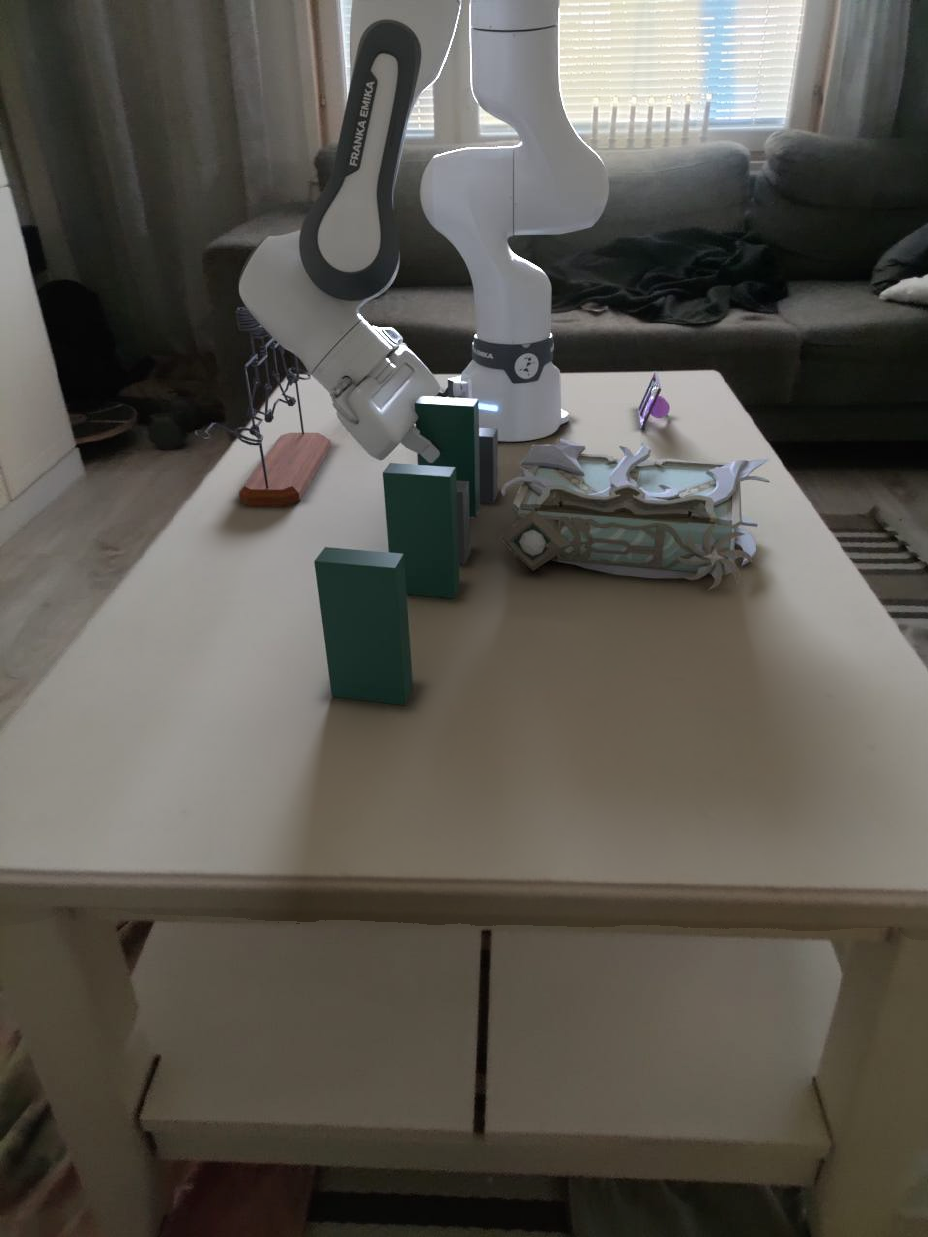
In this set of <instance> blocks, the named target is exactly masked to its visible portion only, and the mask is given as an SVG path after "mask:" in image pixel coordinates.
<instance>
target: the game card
mask: <svg viewBox="0 0 928 1237" xmlns="http://www.w3.org/2000/svg"><path fill="white" fill-rule="evenodd" d="M661 391H662V385H661V382H660V378H659V374H658V372H657V371H654V372H653V375H652V377H651V379H650V382H649V383H648V386H647V387H646V390H645V392H644V395H643V397H642V398H641V401H640V404H639V405H638V408H637V415H638V422H639V427H640V429H641V430H644V428H645V426H646V424H647V422H648V420H649V418H650V415H651V416H652V417H653V418H655V419H663V418H666V419H667V420H668V418H670V416H669V412H670V410H671V407H670V403H669V402H668V400H667V399H666V398H665V397H664V396H663V395H660V394H661ZM651 396H652V397H651Z"/></svg>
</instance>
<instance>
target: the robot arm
mask: <svg viewBox="0 0 928 1237" xmlns="http://www.w3.org/2000/svg"><path fill="white" fill-rule="evenodd" d="M351 1H352V2H351V11H350V23H349V66H350V67H349V68H350V70H349V71H350V72H349V73H350V74H349V75H350V76H349V88H348V90H349V91H348V94H347V98H346V104H345V110H344V114H343V118H342V122H341V128H340V131H339V132H340V133H339V137H338V142H337V146H336V151H335V157H334V161H333V166H332V169H331V174H330V176H329V178H328V180H327V182H326V184H325V186H324V188H323V189H322V191H321V193H320V194H319V196H318V197H317V198H316V200H315V201H314V202H313V203H312V205H311V207H310V209H309V210H308V211H307V213H306V215H305V216H304V220H303V222H302V223H301V224H302V225H301V227H300V229H299V230H296V231H292V232H289V233H285V234H280V235H269V236H266V237H265V238H263V239H262V240H261V241H260V242H259V243H258V244H257V245H256V246H255V248H254V249H253V250H252V251H251V252H250V254H249V255H248V257H247V259H246V261H245V263H244V265H243V267H242V269H241V272H240V276H239V278H238V293H239V298H240V299H241V301H242V303H243V305H244V307H247V309H248V310H249V311H250V313H251V314H252V315H253V316H254V318H255V319H256V320H257V321H258V322H259V323H260V324H261V325H262V327H263V328H262V329H265V330H266V331H267V332H268V333H269V334H270V335H271V336H272V337H273V338H274V339H275V340H276V341H275V342H277V343H279V344H280V345H281V346H282V347H283V348H285V350H286V351H289V352H290V353H292V354H293V355H294V354H295V355H296V356H297V359H299V360H300V362H301V363H302V364H303V366H304V367H305V369H306V372H308V373H309V374H310V375H311V377H312V378H313V379H315V381H317V382H318V384H320V385H321V386H322V387H323V389H325V390H326V392H328V393H329V396H330V398H331V402H332V407H333V408H334V410H336V416H337V419H338V420H339V422H340V423H341V425H342V426H343V427H344V428H345V429H346V431H347V432H348V433H349V434H350V436H352V438H353V439H354V440H355V441H356V442H357V443H358V445H359V446H360V447H361V448H362V449H363V450H364V451H365V452H366V453H367V454H368V455H369V456H370V457H372V458H373V459H376V460H378V461H383V460H384V459H386V458H387V457H388V456H389V455H390V454H391V453H392V452H393V451H394V450H395V449H396V448H397V447H398V446H399V445H400V444H401V445H402V446H403V447H404V448H406V449H408V450H410V451H412V452H413V453H416V454H417V453H418V454H421V455H422V456H423V457H424V458H425V459H426V460H427V461H428V462H429V463H433V462H434V461H435V460H436V459H437V458H438V457H439V456H440V454H441V452H442V449H441V448H440V447H439V446H438V445H437V444H436V443H435V442H434V441H433V440H432V441H431V442H430V441H429V440H427V439H426V438H425V437H423V436H422V435H420V434H419V433H420V431H419V430H418V429H417V428H416V421H417V420H418V418H419V417H418V415H417V413H416V412H415V402H416V401H417V400H418V398H419V397H420V396H431V397H437V395H438V397H449V398H468V399H479V428H491V429H498V442H511V443H512V442H528V441H533V440H539V439H543V438H546V437H548V436H551V435H553V434H554V433H556V432H557V431H558V430H559V428H560V426H562V425H564V424H565V423H568V422H569V421H570V413H569V412H567V411H566V410H563V409H562V408H563V407H562V406H563V405H562V379H561V378H562V377H561V370H560V369H559V368H558V367H557V366H556V365H554V364H553V359H554V349H555V344H554V335H553V333H551V328H552V327H551V326H552V325H551V324H552V320H551V319H552V291H553V289H552V283H551V281H550V279H549V276H548V275H547V274H546V272H545V271H544V270H543V269H542V268H540V267H539V266H537V265H535V264H534V263H532V262H530V261H528V260H526V259H524V258H522V257H520V256H518V255H517V254H516V253H514V252H513V251H512V249H511V247H510V245H509V243H508V242H509V241H508V240H509V238H510V237H514V236H540V235H541V236H543V235H549V236H551V235H564V234H568V233H574V232H578V231H582V230H585V229H589V228H592V227H593V226H594V225H595V224H596V223H597V222H598V221H599V220H600V219H601V216H602V215H603V213H604V211H605V209H606V207H607V204H608V200H609V195H610V179H609V174H608V170H607V167H606V165H605V163H604V161H603V160H602V158H601V157H600V156H599V155H598V154H597V152H596V151H595V150H593V149H592V148H591V147H590V146H588V145H587V144H586V142H584V140H582V138H581V137H580V136H579V135H578V133H577V132H576V130H575V128H574V127H573V125H572V123H571V122H570V119H569V117H568V114H567V112H566V108H565V105H564V101H563V97H562V90H561V79H560V20H561V19H560V18H561V16H560V15H561V12H560V10H561V3H560V2H561V0H469V47H470V48H469V51H470V52H469V53H470V55H469V56H470V87H471V92H472V95H473V97H474V100H475V101H476V103H477V104H478V105H479V107H480V108H481V109H482V110H483V111H484V112H486V113H487V114H488V115H490V116H492V117H494V118H495V119H497V120H499V121H502V122H503V123H505V124H507V125H509V126H510V127H512V128H513V129H514V130H515V132H516V133H517V135H518V136H519V139H520V143H519V144H518V145H514V146H497V147H496V146H495V147H492V146H491V147H465V148H460V149H456V150H452V151H447V152H444V153H441V154H436V155H434V156H433V157H432V158H431V159H430V161H429V162H428V163H427V166H426V167H425V169H424V170H423V173H422V177H421V180H420V184H419V185H420V186H419V199H420V204H421V209H422V210H423V214H424V215H425V218H426V220H427V221H428V223H429V224H430V225H431V226H432V228H433V229H435V230H436V231H437V232H438V233H440V234H441V235H442V236H443V237H445V238H446V239H447V240H448V241H449V242H450V243H451V244H452V245H453V246H454V248H455V249H456V250H457V251H458V253H459V255H460V256H461V258H462V259H463V262H464V263H465V265H466V267H467V270H468V272H469V275H470V279H471V283H472V288H473V298H474V310H475V334H474V335H473V342H472V344H471V358H472V360H471V361H470V362H469V363H468V364H467V366H466V367H465V368H464V369H463V370H462V372H461V373H460V375H459V376H454V377H451V378H447V387H446V388H445V391H442V390H441V386H440V383H439V382H438V379H437V378H436V376H435V375H434V373H433V372H431V371H430V369H429V368H428V367H427V366H426V364H424V362H423V361H422V360H421V359H420V358H419V357H418V355H416V354H415V353H414V352H413V351H412V350H411V349H410V348H408V346H407V347H406V346H403V345H400V344H401V343H403V342H404V341H403V340H404V338H403V336H402V335H401V334H400V333H399V332H398V331H397V330H396V329H395V328H394V327H378V326H375V325H371V324H369V322H368V321H367V320H365V319H364V317H363V316H362V315H361V314H360V308H361V307H362V306H364V305H366V304H367V303H368V302H370V301H371V300H373V299H376V298H377V297H380V296H381V295H382V294H384V293H385V292H386V291H388V289H389V288H390V287H391V285H393V283H394V282H395V279H396V277H397V275H398V272H399V269H400V264H401V252H400V237H399V232H398V225H397V222H396V217H395V212H394V194H395V186H396V182H397V178H398V177H397V176H398V172H399V168H400V163H401V159H402V154H403V149H404V145H405V140H406V135H407V131H408V126H409V123H410V118H411V115H412V113H413V110H414V108H415V105H416V103H417V101H418V99H419V98H420V96H421V95H422V93H423V92H424V91H425V90H427V88H429V87H430V86H432V85H433V84H434V83H435V82H436V80H437V79H438V78H439V77H440V74H441V71H442V69H443V67H444V64H445V62H446V60H447V57H448V54H449V51H450V48H451V45H452V42H453V39H454V36H455V32H456V29H457V24H458V21H459V15H460V12H461V11H460V10H461V6H462V1H463V0H351ZM251 314H250V315H251ZM399 345H400V346H399Z"/></svg>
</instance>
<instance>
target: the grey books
mask: <svg viewBox="0 0 928 1237" xmlns="http://www.w3.org/2000/svg"><path fill="white" fill-rule="evenodd" d="M498 442H499V441H498V429H491V428H479V463H480V503H491V504H494V502H495V501H496V498H497V496H498V494H499V443H498ZM456 483H457V516H458V548H459V565H465V564H466V562H467V560H468V559H469V556H470V554H471V520H470V519H471V517H470V516H469V481H458V480H456Z"/></svg>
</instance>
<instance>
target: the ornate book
mask: <svg viewBox="0 0 928 1237" xmlns="http://www.w3.org/2000/svg"><path fill="white" fill-rule="evenodd" d="M619 449H620V450H621V452H622V453H623V454H624V456H623V458H620V457H619V458H618V457H614V456H613V455H608V454H602V453H601V454H599V453H598V454H597V453H583V452H584V451H585V450H586V446H585V445H583V444H579V443H576V442H573V441H571V440H567V439H564V438H561V437H559V438H558V443H557V444H549V443H548V444H536V443H535V444H534V443H531V449H530V450H529V452H528V453H527V454H526V456H525V457H524V458H523V460H522V461H521V463H520V466H521V467H519V468H520V470H519V471H520V474H521V477H517V478H514V479H512V480H509V481H507V482H506V483H505V484H504V485H503V486H502V488H501V491H500V492H501V494H502V496H503V497H505V495H506V493H507V491H508V488H509V486H511V485H513V484H515V483H520V482H522V484H521V486H520V488H519V489H518V492H517V494H516V496H515V498H514V500H513V503H512V508H513V509H514V510H515V511H516V512H517V518H516V524H514V525H511V526H510V527H509V528H508V530H506V531H505V532H504V533H503V534H502V535H501V536H500V538H499V539H500V540H501V541H502V542H503V543H504V544H505V545H506V547H507V548H508V549H509V550H510V551H511V552H513V553H514V554H515V555H516V558H518V559H519V560H520V561H521V562H522V563H523V564H524V565H525V566H527V568H529V569H530V570H531V571H532V572H534V571H535V570H537V569H539V568H540V567H542V566H543V565H544V564H546V563H547V562H549V561H552V562H553V561H554V562H558V563H563V564H568V565H569V564H570V565H574V566H578V567H580V568H583V569H588V570H593V571H596V572H601V573H606V574H611V575H614V576H615V575H616V576H625V577H626V576H627V577H633V578H636V577H637V578H646V579H686V580H690V581H698V580H699V579H702V578H703V577H705V576H707V575H711V576H712V577H713V578H714V581H713V583H712V585H711V586H710V587H709V588H708V589H707V591H710V590H712V589H714V588H717V587H718V586H719V585H720V584H721V582H722V578H723V576H726V575H728V574H730V573H732V574H733V575H734V577H735V585H736V586H737V585H738V583H739V581H740V579H741V571H740V570H739V568H738V567H737V565H736V559H738V558H743V560H742V562H741V567H743V566H744V565H746V564H747V563H749V562H751V563H752V564H754V560H753V558H754V556H756V552H757V546H756V545H757V544H756V540H755V539H754V537H753V535H752V534H751V533H750V532H749V531H747V530H745V529H743V528H741V527H740V526H745V527H753V528H754V527H755V528H757V527H758V523H757V522H754V521H752V520H751V519H749V518H747V517H744V516H743V515H742V491H741V490H742V489H741V483H742V482H744V481H749V480H753V481H758V482H764V483H770V480H769V479H766V478H765V477H761V476H758V475H751V473H753V472H754V471H755V470H757V469H758V468H759V467H762V465H764V464H765V463H767V462H768V461H770V460H771V458H762V459H753V460H745V459H744V460H741V459H740V460H734V461H732V462H724V461H723V462H722V461H720V462H719V461H718V462H717V461H697V460H686V459H678V458H677V459H676V458H660V459H657V460H649V457H651V453H652V452H651V451H652V450H651V449H650V447H649V446H647V445H646V444H643V443H641V442H640V448H639V450H638V451H637V452H636V453H635V455H634V454H633V452H632V450H631V449H629V448H628V447H625V446H622V445H619ZM523 466H524V467H525V466H526V467H529V468H528V470H527V469H525V468H524V467H523ZM735 546H737V547H740V548H741V549H742V550H739V549H735Z"/></svg>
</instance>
